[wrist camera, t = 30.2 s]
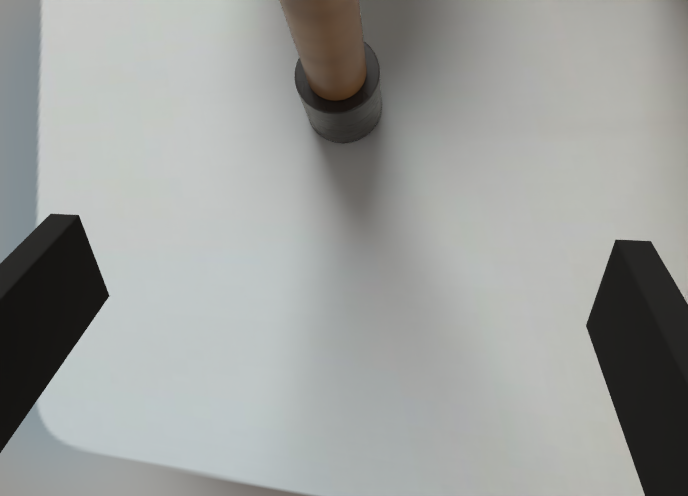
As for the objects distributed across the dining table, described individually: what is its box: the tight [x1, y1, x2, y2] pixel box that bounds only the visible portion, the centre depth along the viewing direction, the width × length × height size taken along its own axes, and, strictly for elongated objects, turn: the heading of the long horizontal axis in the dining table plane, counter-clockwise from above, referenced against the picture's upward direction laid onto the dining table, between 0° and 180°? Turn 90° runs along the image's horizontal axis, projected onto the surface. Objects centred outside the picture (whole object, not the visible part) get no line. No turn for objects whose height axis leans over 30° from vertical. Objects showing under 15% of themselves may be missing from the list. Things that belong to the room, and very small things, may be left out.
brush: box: [279, 0, 382, 143], centre depth 20 cm, size 4×4×18 cm
